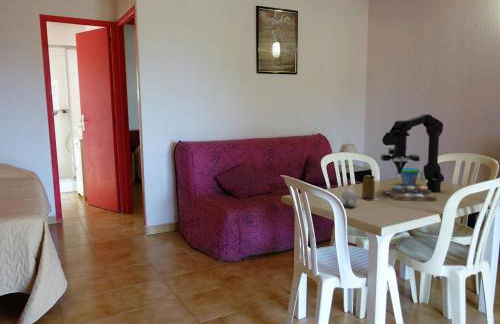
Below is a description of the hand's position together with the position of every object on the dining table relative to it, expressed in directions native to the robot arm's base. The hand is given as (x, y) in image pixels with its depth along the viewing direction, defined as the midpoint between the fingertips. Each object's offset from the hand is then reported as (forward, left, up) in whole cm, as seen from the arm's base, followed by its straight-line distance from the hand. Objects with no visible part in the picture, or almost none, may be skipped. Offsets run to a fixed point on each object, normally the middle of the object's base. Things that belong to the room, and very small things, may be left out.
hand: (399, 173), depth 211 cm
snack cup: (-14, -31, -12) cm, 36 cm away
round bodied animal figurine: (+28, +24, -12) cm, 39 cm away
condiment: (+16, +7, -12) cm, 22 cm away
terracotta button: (-13, 0, -9) cm, 16 cm away
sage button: (-7, 0, -9) cm, 11 cm away
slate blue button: (0, 0, -9) cm, 9 cm away
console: (-7, +3, -12) cm, 14 cm away
